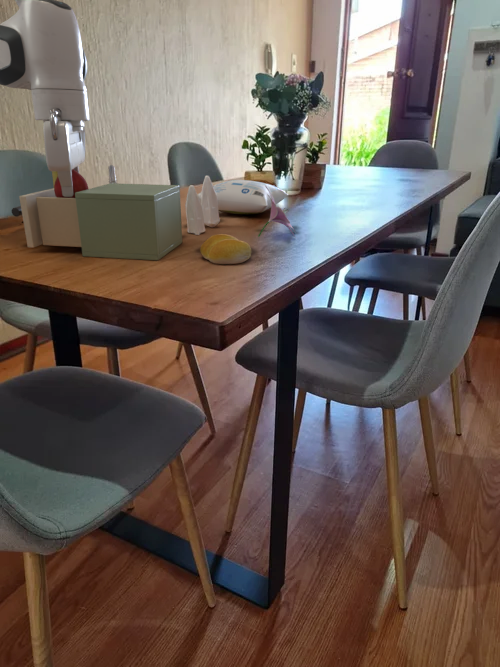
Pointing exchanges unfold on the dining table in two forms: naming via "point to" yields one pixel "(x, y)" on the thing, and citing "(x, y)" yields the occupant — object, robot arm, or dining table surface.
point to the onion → (78, 185)
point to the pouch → (246, 196)
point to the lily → (277, 216)
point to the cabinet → (129, 220)
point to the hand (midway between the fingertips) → (71, 193)
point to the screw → (112, 174)
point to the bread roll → (225, 249)
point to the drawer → (49, 219)
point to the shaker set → (202, 208)
